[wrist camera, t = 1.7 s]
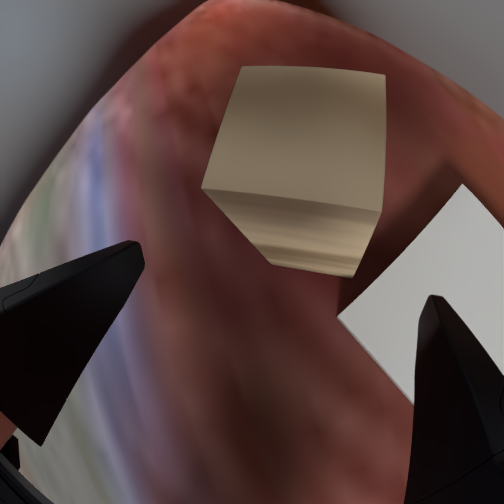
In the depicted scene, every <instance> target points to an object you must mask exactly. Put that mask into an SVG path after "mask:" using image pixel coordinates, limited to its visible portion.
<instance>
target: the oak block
mask: <svg viewBox="0 0 504 504" xmlns="http://www.w3.org/2000/svg"><path fill="white" fill-rule="evenodd" d="M385 155H386V81H385V75H382V74H376V73H369V72H361V71H353V70H343V69H332V68H319V67H300V66H242V67H241V70H240V73H239V75H238V78H237V81H236V84H235V86H234V89H233V92H232V95H231V97H230V100H229V103H228V106H227V109H226V112H225V115H224V118H223V120H222V123H221V126H220V129H219V132H218V135H217V138H216V141H215V145H214V148H213V151H212V154H211V157H210V160H209V163H208V167H207V170H206V173H205V176H204V180H203V183H202V186H201V189H202V190H203V191H204V192H205V193H206V194H207V195H208V196H209V197H210V198H211V200H212V201H213V202H214V203H215V204H216V205H217V206H218V207H219V208H220V209H221V210H222V211H223V213H224V214H225V215H226V216H227V217H228V218H229V219H230V220H231V221H232V222H233V223H234V224H235V226H236V227H237V228H238V229H239V230H240V231H241V232H242V233H243V234H244V235H245V236H246V237H247V239H248V240H249V241H250V242H251V243H252V244H253V245H254V246H255V247H256V248H257V249H258V250H259V252H260V253H261V254H262V255H263V256H264V257H265V258H266V259H267V260H268V261H269V262H270V264H273V265H279V266H284V267H290V268H296V269H301V270H307V271H313V272H318V273H324V274H330V275H335V276H341V277H347V278H353V276H354V274H355V272H356V270H357V268H358V266H359V263H360V261H361V259H362V257H363V255H364V252H365V250H366V248H367V246H368V243H369V241H370V239H371V236H372V234H373V232H374V229H375V227H376V225H377V222H378V220H379V217H380V215H381V212H382V204H383V191H384V176H385Z"/></svg>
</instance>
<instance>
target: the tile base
mask: <svg viewBox="0 0 504 504" xmlns="http://www.w3.org/2000/svg"><path fill="white" fill-rule="evenodd" d="M431 294H433V295H439V296H443V297H444V298H445V299H446V300H447V302H448V303H449V304H450V305H451V306H452V308H453V309H454V310H455V311H456V313H457V314H458V315H459V316H460V317H461V319H462V320H463V321H464V322H465V324H466V325H467V326H468V328H469V329H470V330H471V331H472V333H473V334H474V335H475V337H476V338H477V339H478V340H479V342H480V343H481V344H482V346H483V347H484V349H485V350H486V351H487V353H488V354H489V355H490V357H491V358H492V360H493V361H494V362H495V364H496V365H497V367H498V368H499V369H500V371H501V372H502V374H503V375H504V229H503V227H502V226H501V225H500V224H499V223H498V222H497V220H496V219H495V218H494V217H493V216H492V215H491V213H490V212H489V211H488V210H487V209H486V208H485V207H484V206H483V205H482V203H481V202H480V201H479V200H478V199H477V198H476V197H475V196H474V195H473V194H472V193H471V192H470V191H469V190H468V189H467V188H466V187H465V186H464V185H463V184H462V185H461V186H460V187H459V189H458V190H457V191H456V192H455V194H454V195H453V196H452V197H451V198H450V200H449V201H448V202H447V203H446V204H445V206H444V207H443V208H442V209H441V210H440V211H439V213H438V214H437V215H436V216H435V217H434V218H433V219H432V221H431V222H430V223H429V224H428V225H427V226H426V227H425V228H424V230H423V231H422V232H421V233H420V234H419V235H418V236H417V237H416V238H415V240H414V241H413V242H412V243H411V244H410V245H409V246H408V247H407V248H406V249H405V250H404V251H403V252H402V253H401V255H400V256H399V257H398V258H397V259H396V260H395V261H394V262H393V263H392V264H391V265H390V266H389V267H388V268H387V269H386V270H385V271H384V272H383V273H382V274H381V275H380V276H379V277H378V278H377V279H376V280H375V281H374V282H373V283H372V284H371V285H370V286H369V287H368V288H367V289H366V290H365V291H364V292H363V293H362V294H361V295H360V296H359V297H358V298H356V299H355V300H354V301H353V302H352V303H351V304H350V305H349V306H348V307H347V308H346V309H345V310H344V311H343V312H342V313H340V314H339V315H338V316H337V317H336V318H337V319H338V320H339V321H340V322H341V323H342V324H343V325H344V327H345V328H346V329H347V330H348V331H349V332H350V333H351V334H352V336H353V337H354V338H355V339H356V340H357V341H358V342H359V344H360V345H361V346H362V347H363V348H364V349H365V350H366V351H367V353H368V354H369V355H370V356H371V357H372V358H373V359H374V361H375V362H376V363H377V364H378V365H379V366H380V367H381V369H382V370H383V371H384V372H385V373H386V374H387V376H388V377H389V378H390V379H391V380H392V381H393V382H394V384H395V385H396V386H397V387H398V388H399V389H400V391H401V392H402V393H403V394H404V395H405V396H406V397H407V399H408V400H409V401H410V402H411V403H412V404H413V406H414V374H415V360H416V349H417V336H418V322H419V317H420V315H421V312H422V310H423V307H424V305H425V303H426V300H427V298H428V296H429V295H431Z"/></svg>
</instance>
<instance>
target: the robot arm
mask: <svg viewBox="0 0 504 504" xmlns="http://www.w3.org/2000/svg"><path fill="white" fill-rule="evenodd" d="M144 266H145V261H144V257H143V253H142V249H141V245H140V243H139V242H137V241H131V240H127V241H124V242H121V243H118V244H116V245H113V246H110V247H107V248H104V249H102V250H99V251H96V252H93V253H91V254H88V255H85V256H83V257H80V258H77V259H75V260H72V261H69V262H67V263H64V264H61V265H59V266H56V267H54V268H51V269H49V270H46V271H43V272H41V273H40V274H36V275H33V276H31V277H28V278H26V279H23V280H21V281H18V282H15V283H12V284H10V285H7V286H4V287H1V288H0V504H54V503H52V502H51V501H50V500H49V499H48V498H47V497H45V496H44V495H43V494H42V493H41V492H40V491H39V490H37V489H36V488H35V487H34V486H33V485H32V484H31V483H30V482H29V481H28V480H27V479H26V478H25V477H24V476H23V475H22V474H21V473H20V472H19V471H18V470H19V468H20V459H19V445H18V439H17V438H16V437H15V436H14V435H13V433H14V432H15V430H16V429H17V428H19V429H20V430H21V431H22V432H23V433H24V434H26V435H27V436H28V437H29V438H30V439H31V440H33V441H34V442H35V443H36V444H38V445H39V446H40V447H41V446H42V444H43V443H44V441H45V439H46V437H47V435H48V433H49V431H50V429H51V427H52V426H53V424H54V422H55V420H56V418H57V416H58V414H59V413H60V411H61V409H62V407H63V405H64V403H65V402H66V399H67V398H68V396H69V394H70V392H71V391H72V389H73V387H74V385H75V384H76V382H77V380H78V378H79V377H80V375H81V373H82V372H83V370H84V368H85V367H86V365H87V363H88V362H89V360H90V358H91V357H92V355H93V353H94V352H95V350H96V348H97V347H98V345H99V344H100V342H101V340H102V339H103V337H104V336H105V334H106V332H107V331H108V329H109V328H110V326H111V325H112V323H113V322H114V320H115V318H116V317H117V315H118V314H119V312H120V311H121V309H122V308H123V306H124V304H125V303H126V301H127V299H128V297H129V295H130V294H131V292H132V290H133V288H134V286H135V284H136V282H137V281H138V279H139V277H140V275H141V273H142V272H143V270H144ZM404 504H504V375H503V374H502V372H501V371H500V369H499V368H498V367H497V365H496V364H495V362H494V361H493V360H492V358H491V357H490V355H489V354H488V353H487V351H486V350H485V349H484V347H483V346H482V344H481V343H480V342H479V340H478V339H477V338H476V337H475V335H474V334H473V333H472V331H471V330H470V329H469V328H468V326H467V325H466V324H465V322H464V321H463V320H462V319H461V317H460V316H459V315H458V314H457V313H456V311H455V310H454V309H453V308H452V306H451V305H450V304H449V303H448V302H447V300H446V299H445V298H444V297H443V296H439V295H433V294H431V295H429V296H428V298H427V300H426V303H425V305H424V307H423V310H422V312H421V315H420V317H419V322H418V336H417V349H416V360H415V374H414V415H413V432H412V445H411V455H410V464H409V473H408V480H407V487H406V493H405V499H404Z"/></svg>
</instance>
